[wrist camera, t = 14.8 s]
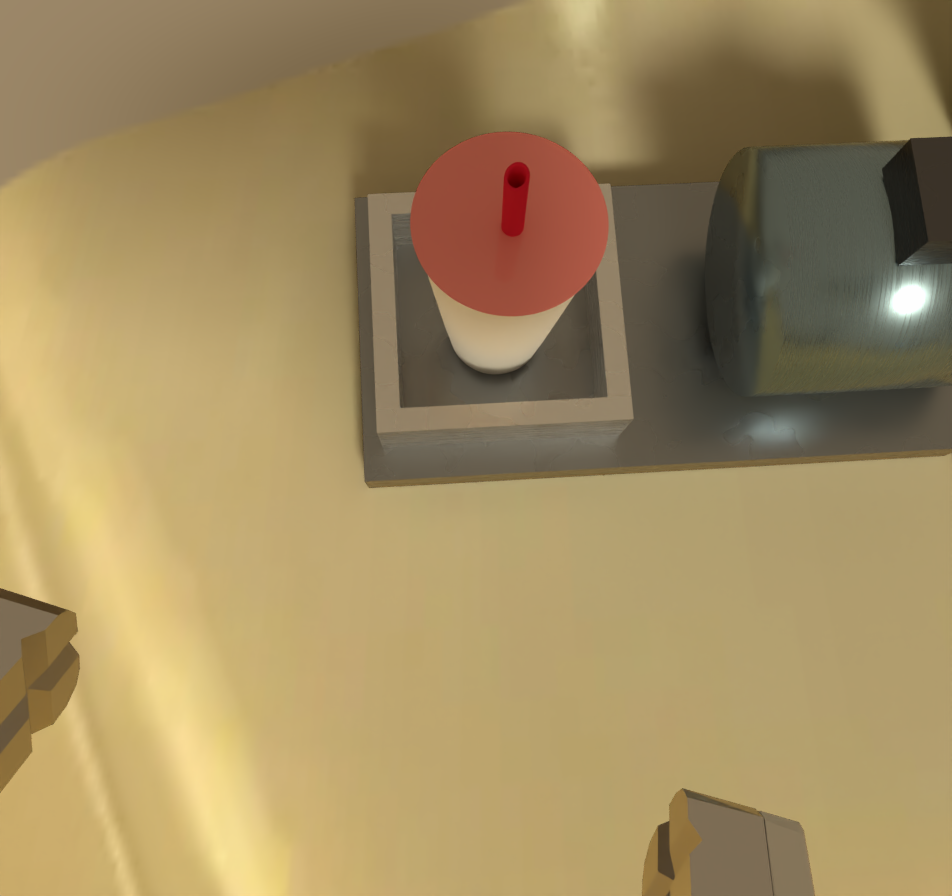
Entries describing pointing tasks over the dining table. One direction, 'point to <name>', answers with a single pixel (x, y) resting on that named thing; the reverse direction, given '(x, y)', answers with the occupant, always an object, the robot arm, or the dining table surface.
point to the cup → (506, 242)
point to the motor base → (689, 330)
